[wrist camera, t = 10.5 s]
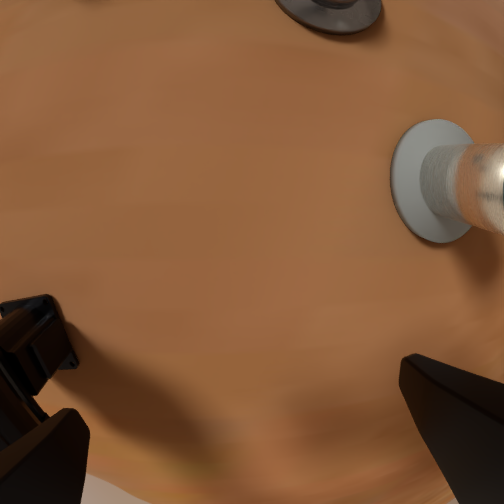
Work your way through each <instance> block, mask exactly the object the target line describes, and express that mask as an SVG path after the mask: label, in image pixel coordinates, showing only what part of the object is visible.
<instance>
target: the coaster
mask: <svg viewBox="0 0 504 504" xmlns="http://www.w3.org/2000/svg"><path fill="white" fill-rule="evenodd" d="M453 144H474V142H473V141H472V139H471V138H470V137H469V135H468V134H467V133H466V132H465V131H464V130H463V129H462V128H460V127H459V126H458V125H456V124H454V123H452V122H450V121H447V120H442V119H434V120H428V121H423V122H420V123H417V124H415V125H413V126H412V127H411V128H409V129H408V130H407V131H406V132H405V133H404V134H403V136H402V137H401V138H400V140H399V142H398V144H397V146H396V148H395V151H394V153H393V157H392V161H391V168H390V187H391V193H392V198H393V202H394V205H395V207H396V210H397V212H398V214H399V216H400V218H401V219H402V221H403V222H404V224H405V225H406V226H407V227H408V228H409V229H410V230H411V231H412V232H413V233H415V234H416V235H418V236H420V237H422V238H425V239H427V240H430V241H432V242H437V243H447V242H451V241H454V240H456V239H458V238H460V237H461V236H462V235H464V234H465V233H466V232H467V231H468V230H469V229H470V228H471V226H472V225H468V224H465V223H462V222H458V221H455V220H451V219H448V218H444V217H441V216H438V215H436V214H434V213H433V212H432V211H431V210H430V209H429V208H428V207H427V205H426V203H425V201H424V199H423V197H422V194H421V190H420V181H419V179H420V169H421V165H422V162H423V160H424V158H425V156H426V155H427V153H428V152H429V151H430V150H431V149H433V148H434V147H436V146H439V145H453Z"/></svg>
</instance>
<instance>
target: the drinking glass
mask: <svg viewBox="0 0 504 504" xmlns="http://www.w3.org/2000/svg"><path fill="white" fill-rule="evenodd" d="M419 181H420V190H421V194H422V197H423V199H424V201H425V203H426V205H427V207H428V208H429V209H430V210H431V211H432V212H433V213H434V214H436V215H438V216H441V217H444V218H448V219H451V220H455V221H458V222H462V223H465V224H468V225H472V226H475V227H478V228H481V229H485V230H488V231H491V232H494V233H497V234H500V235H503V236H504V143H489V144H453V145H439V146H436V147H434V148H433V149H431V150H430V151H429V152H428V153H427V155H426V156H425V158H424V160H423V162H422V165H421V169H420V179H419Z"/></svg>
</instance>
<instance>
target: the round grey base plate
mask: <svg viewBox="0 0 504 504" xmlns="http://www.w3.org/2000/svg"><path fill="white" fill-rule="evenodd" d="M275 2H276V3H277V4H278V6H279V7H280V8H281V9H282V10H283V11H284V12H285V13H286V14H287V15H288V16H290V17H291V18H292V19H294V20H295V21H297V22H298V23H300V24H302V25H304V26H306V27H308V28H310V29H313V30H316V31H319V32H323V33H327V34H333V35H349V34H354V33H358V32H360V31H363V30H365V29H366V28H367V27H369V26H370V25H371V24H372V23H373V22H374V21H375V20H376V19H377V17H378V16H379V13H380V11H381V0H275Z"/></svg>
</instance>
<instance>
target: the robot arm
mask: <svg viewBox="0 0 504 504" xmlns="http://www.w3.org/2000/svg"><path fill="white" fill-rule="evenodd" d="M45 299H46V300H47V302H48V303H47V302H46V301H45ZM0 313H1V316H2V319H1V320H0V504H80V503H81V498H82V493H83V486H84V482H85V476H86V467H87V457H88V448H89V440H90V430H89V428H88V426H87V425H86V423H85V422H84V420H83V419H82V417H81V415H80V414H79V412H78V411H77V410H76V409H73V408H63V409H61V410H60V411H58V412H57V413H56V414H54V415H53V416H51V417H49V416H48V414H47V413H45V412H44V411H43V410H42V409H41V407H40V406H39V405H38V403H37V402H36V401H35V400H34V398H33V396H37V395H38V394H39V392H40V391H41V389H42V388H43V387H44V385H45V384H46V382H47V381H48V380H49V379H51V378H52V376H53V375H54V374H55V372H56V371H57V370H63V369H76V368H77V367H78V366H79V361H78V359H77V357H76V355H75V353H74V350H73V348H72V346H71V344H70V342H69V339H68V337H67V335H66V332H65V330H64V328H63V325H62V323H61V320H60V318H59V316H58V313H57V310H56V308H55V305H54V303H53V300H52V298H51V296H50V295H48V294H43V295H38V296H33V297H27V298H22V299H17V300H11V301H6V302H2V303H1V304H0ZM72 362H73V363H72ZM399 387H400V390H401V392H402V394H403V397H404V399H405V401H406V403H407V406H408V408H409V410H410V412H411V415H412V417H413V419H414V422H415V424H416V426H417V428H418V431H419V433H420V434H421V436H422V438H423V440H424V441H425V443H426V445H427V447H428V448H429V450H430V452H431V454H432V455H433V457H434V459H435V461H436V462H437V464H438V466H439V468H440V470H441V471H442V473H443V475H444V477H445V479H446V481H447V482H448V484H449V486H450V488H451V490H452V492H453V494H454V495H455V497H456V499H457V501H458V503H459V504H504V384H503V383H500V382H497V381H494V380H491V379H488V378H485V377H482V376H479V375H476V374H473V373H470V372H467V371H465V370H462V369H459V368H456V367H453V366H450V365H447V364H445V363H442V362H439V361H436V360H433V359H431V358H428V357H425V356H422V355H420V354H417V353H415V354H411V355H409V356H406V357H404V358H402V360H401V365H400V374H399Z"/></svg>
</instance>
